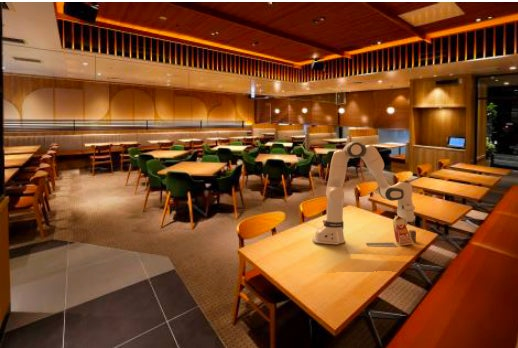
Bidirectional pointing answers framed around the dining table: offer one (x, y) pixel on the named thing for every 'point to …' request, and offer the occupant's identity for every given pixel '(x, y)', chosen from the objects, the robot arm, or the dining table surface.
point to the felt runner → (382, 244)
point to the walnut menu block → (413, 235)
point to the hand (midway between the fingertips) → (404, 225)
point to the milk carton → (401, 232)
